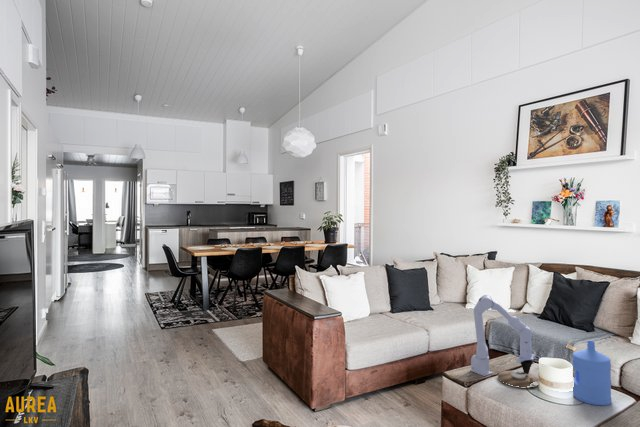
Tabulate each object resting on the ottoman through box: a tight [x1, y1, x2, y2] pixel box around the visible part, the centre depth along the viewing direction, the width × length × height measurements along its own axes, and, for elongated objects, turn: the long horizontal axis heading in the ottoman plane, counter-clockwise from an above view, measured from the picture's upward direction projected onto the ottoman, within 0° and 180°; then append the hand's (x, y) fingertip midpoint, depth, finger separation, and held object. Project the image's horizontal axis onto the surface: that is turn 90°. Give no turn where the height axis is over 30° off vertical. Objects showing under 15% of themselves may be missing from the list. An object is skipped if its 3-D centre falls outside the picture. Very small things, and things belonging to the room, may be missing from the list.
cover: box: [511, 370, 526, 381], centre depth 220 cm, size 7×7×3 cm
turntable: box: [497, 370, 539, 387], centre depth 220 cm, size 20×20×4 cm
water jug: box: [572, 340, 612, 407], centre depth 198 cm, size 16×16×28 cm
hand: (526, 373), depth 224 cm, fingers closed
